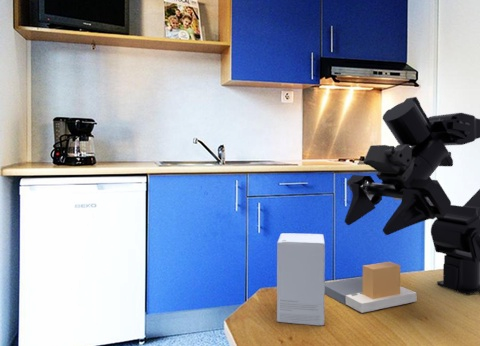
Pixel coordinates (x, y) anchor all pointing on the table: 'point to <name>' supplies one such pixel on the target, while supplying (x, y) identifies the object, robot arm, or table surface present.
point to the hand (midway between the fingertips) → (364, 227)
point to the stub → (380, 289)
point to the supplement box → (301, 278)
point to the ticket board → (344, 288)
